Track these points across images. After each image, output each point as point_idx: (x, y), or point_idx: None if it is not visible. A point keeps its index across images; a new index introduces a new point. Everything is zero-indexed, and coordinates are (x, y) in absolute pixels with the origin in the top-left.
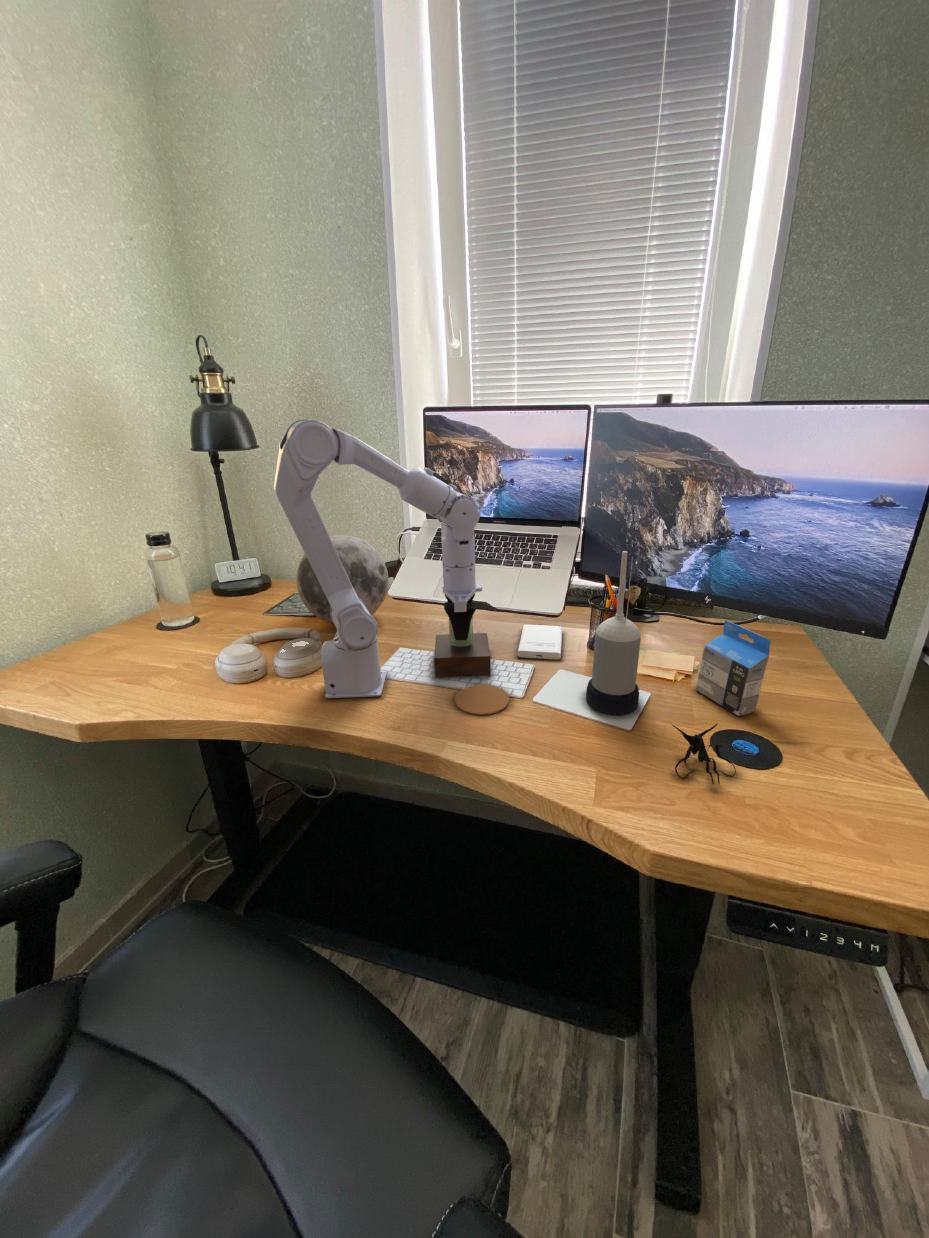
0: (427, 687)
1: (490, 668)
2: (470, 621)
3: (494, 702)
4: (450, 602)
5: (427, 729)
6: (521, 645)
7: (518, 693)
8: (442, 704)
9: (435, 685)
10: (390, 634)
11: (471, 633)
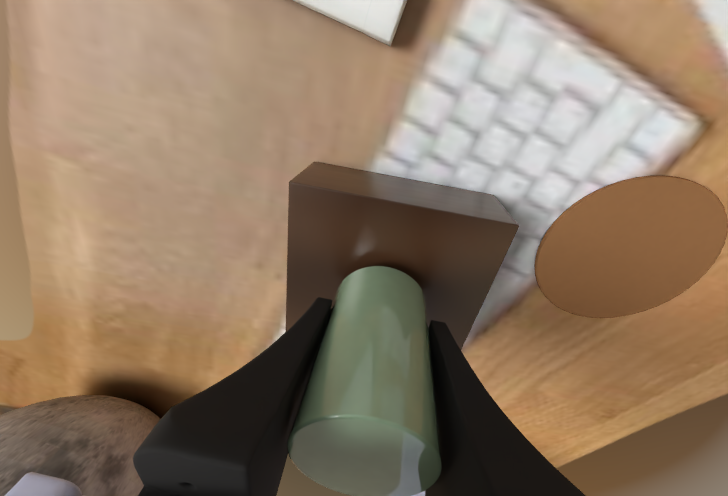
0: (479, 348)
1: (501, 204)
2: (498, 406)
3: (674, 230)
4: (280, 475)
5: (656, 377)
6: (340, 2)
7: (665, 132)
8: (576, 337)
9: (478, 333)
10: (194, 364)
11: (413, 307)
